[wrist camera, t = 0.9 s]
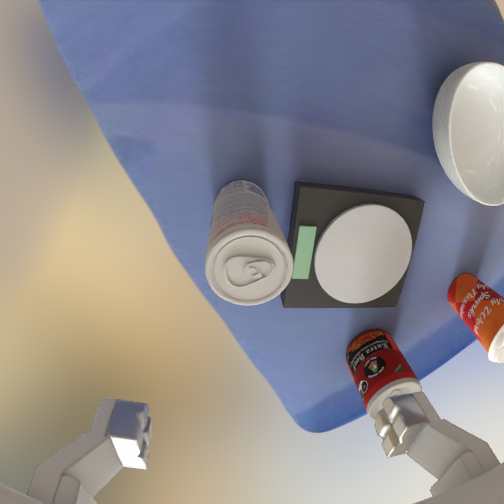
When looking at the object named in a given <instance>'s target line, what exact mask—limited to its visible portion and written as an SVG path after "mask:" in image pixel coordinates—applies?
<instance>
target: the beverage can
mask: <svg viewBox="0 0 504 504" xmlns="http://www.w3.org/2000/svg"><path fill="white" fill-rule="evenodd" d="M293 267H294V266H293V258H292V254H291V252H290V249H289V246H288V244H287V242H286V239H285V237H284V235H283V233H282V230H281V228H280V226H279V224H278V222H277V219H276V217H275V215H274V213H273V211H272V208H271V206H270V204H269V202H268V200H267V197H266V195H265V193H264V192H263V190H262V189H261V188H260V187H259V186H257V185H256V184H254V183H252V182H249V181H244V180H239V181H234V182H231V183H228V184H227V185H225V186H224V187H223V188H222V189H220V191H219V192H218V194H217V195H216V198H215V201H214V208H213V214H212V220H211V226H210V233H209V239H208V246H207V252H206V265H205V272H206V277H207V280H208V283H209V285H210V286H211V288H212V289H213V291H214V292H215V293H216V294H217V295H218V296H220V297H221V298H223V299H224V300H226V301H229V302H231V303H234V304H238V305H256V304H261V303H264V302H267V301H269V300H271V299H273V298H275V297H276V296H278V295H279V294H280V293H281V292H282V291H283V290H284V289H285V288H286V286H287V285H288V283H289V282H290V279H291V277H292V273H293Z"/></svg>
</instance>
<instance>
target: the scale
mask: <svg viewBox="0 0 504 504" xmlns="http://www.w3.org/2000/svg"><path fill="white" fill-rule="evenodd" d="M424 202H425V201H423V200H421V199H419V198H417V197H415V196H412V195H405V194H398V193H391V192H384V191H376V190H369V189H361V188H352V187H344V186H335V185H325V184H315V183H304V182H295V189H294V197H293V206H292V214H291V222H290V230H289V238H288V246H289V249H290V252H291V254H292V258H293V266H294V267H293V273H292V277H291V279H290V282H289V283H288V285H287V286H286V288H285V289H284V290H283V291H282V292H281V300H282V304H283V307H284V308H363V307H396V305H397V302H398V299H399V296H400V293H401V290H402V287H403V284H404V280H405V277H406V274H407V270H408V267H409V263H410V260H411V256H412V252H413V249H414V245H415V241H416V237H417V233H418V229H419V224H420V220H421V216H422V211H423V207H424Z"/></svg>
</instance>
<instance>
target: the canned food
mask: <svg viewBox="0 0 504 504" xmlns="http://www.w3.org/2000/svg"><path fill="white" fill-rule="evenodd" d="M346 361H347V365H348V367H349V370H350V372H351V374H352V377H353V379H354V382H355V384H356V386H357V389H358V391H359V394H360V396H361V399H362V401H363V404H364V406H365V408H366V410H367V413H368V414H369V416H370V418H372V419H373V420H375V418H376V416H377V413H378V412H379V411H380V410H382V409H383V406H382V403H383V401H384V400H385V399H386V398H387V397H392V396H397V395H403V394H409V393H414V392H419V391H422V387H421V385H420V382H419V381H418V379H417V377H416V375H415V374H414V372H413V371H412V369H411V367H410V366H409V364H408V363H407V361H406V359H405V358H404V356H403V355H402V353H401V351H400V350H399V348H398V347H397V345H396V344H395V342H394V341H393V339H392V337H391V336H390V335H389V334H387V333H386V332H384V331H382V330H369V331H366V332H364V333H362V334H360V335H359V336H357V337H356V338H355V339H354V340H353V341H352V342H351V343H350V345H349V347H348V349H347V352H346Z"/></svg>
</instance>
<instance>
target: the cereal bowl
mask: <svg viewBox="0 0 504 504" xmlns="http://www.w3.org/2000/svg"><path fill="white" fill-rule="evenodd" d="M432 117H433V120H432V130H433V139H434V140H433V141H434V144H435V145H434V146H435V150H436V152H437V156H438V159H439V161H440V164H441V166H442V167H443V170H444V171H445V173H446V175H447V176H448V178H449V179H450V180H451V181H452V183H453V184H454V185H455V186H456V187H457V188H458V189H459V190H461V192H463V193H464V194H466V195H467V196H469V197H470V198H471V199H474V200H475V201H478V202H479V203H481V204H485V205H489V206H496V205H501V204H504V66H502V65H500V64H498V63H494V62H473V63H470V64H467V65H463V66H462V67H459V68H458V69H456V70H454V72H452V73H451V74H450V75H449V76H448V77H447V78H446V80H445V81H444V82H443V84H442V86H441V88H440V90H439V92H438V94H437V97H436V100H435V104H434V111H433V116H432Z"/></svg>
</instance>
